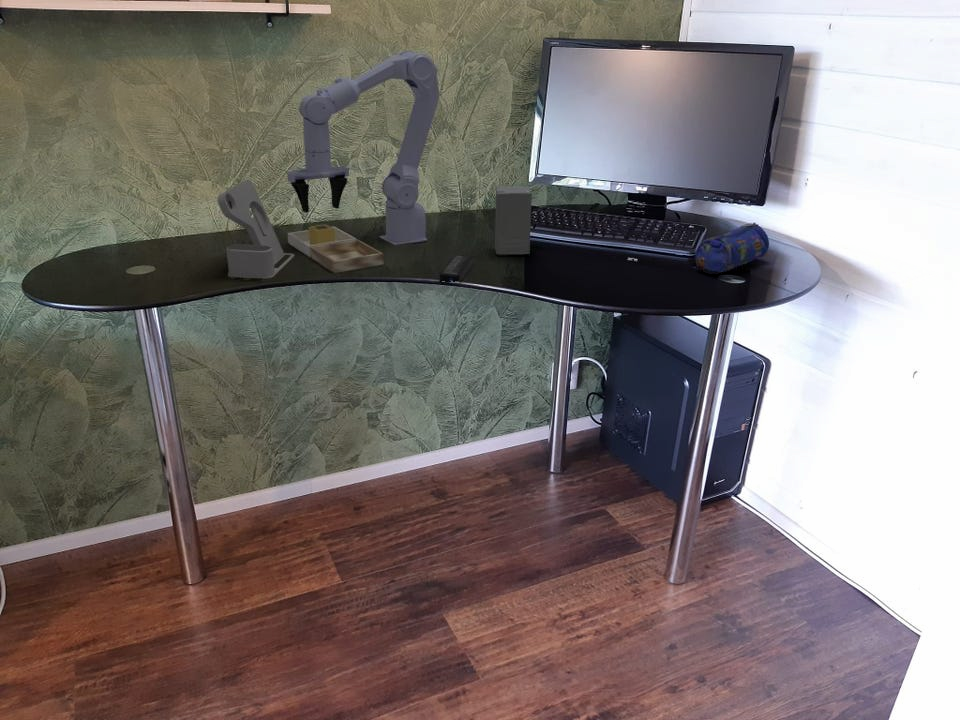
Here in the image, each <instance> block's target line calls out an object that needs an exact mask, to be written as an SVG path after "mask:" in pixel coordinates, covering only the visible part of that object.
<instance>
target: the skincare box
mask: <svg viewBox="0 0 960 720" xmlns="http://www.w3.org/2000/svg"><path fill="white" fill-rule="evenodd" d="M532 196H533V193H532V191H531V187H530V185H517V186H516V185H515V186H514V185H512V186H511V185H510V186H509V185H508V186H507V185H502V186H501V185H498V186H497V185H496V186H495V228H494V229H495V231H494V233H495V234H494V237H495V238H494V249H495V254H530V252H531V251H530V250H531V245H530V244H531V228H532V227H531V225H532V224H531V221H532V220H531V219H532ZM530 255H531V254H530Z"/></svg>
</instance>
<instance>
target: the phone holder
mask: <svg viewBox="0 0 960 720" xmlns="http://www.w3.org/2000/svg"><path fill="white" fill-rule="evenodd" d="M217 204H218V206H219V209H220V211H221V213H222V214H223V216H224V217H225V218H227V219H229V220H230V221H232V222H234V223H235V224H237V225H239V226H241V227H242V228H244V229H245V230H246V232H247V233H248V236H249V237H250V240H251V242H252V244H245V243H235V244H230V245H228V246H226V249H225V250H226V257H227V258H226V259H227V265H228V267H227V268H228V273H227V277H228V276H229V277H240V278H241V277H243V278H263V279H272V278H274V277H275V276H276V274H278V273H279V272H280V271H281V270H282V269H283V268H284V267H285V266H286V265H287V264H288V263H289V262H290V261H292V259H293V258H294V257H295V254H294V253H287V252H284V250H283V248H282V246H281V243H280V241H279V239H278V237H277V234H276V232H275V230H274V228H273V225H272V223H271V221H270V218H269V216H268V214H267V211H266V209H265V207H264V205H263V202H262V200H261V198H260V195H259V193H258V191H257V189H256V187H255V184H254V183H253V182H252V180H251V179H246V180H242V181H240V182H238V183H237V184H235V185H233V186H232V187H230V188H228V189H227V190H224V191H223V192H221V193H220V194H218V195H217ZM250 210H251V211H250ZM251 212H252V216H251ZM285 256H289V257H288V258H287V259H285V261H283V262H282V264H280V266H279V267H275V265H276V264H277V263H278V262H279V261H281V259H283V258H284V257H285ZM229 277H228V278H229Z"/></svg>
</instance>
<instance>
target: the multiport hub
mask: <svg viewBox="0 0 960 720" xmlns="http://www.w3.org/2000/svg"><path fill="white" fill-rule="evenodd" d="M473 261H474V256H473V255H466V254H454V255H453V256H452V257H451V259H450V260H449V261H448V262H447V263H446V265H445V266H444V267H443V269H442V270H441V272H440V273H439V283H443V284H447V283H446V282H451V281H450V280H453V282H455V281H460V280H461V279H462V277H463V276H464V275H465V273H466V272H467V271H468V269H469V268H470V267H471V268H472V266H473V265H472V264H473V263H474V262H473ZM471 265H472V266H471ZM471 268H470V269H471ZM470 269H469V270H470ZM468 272H469V271H468ZM468 272H467V273H468ZM467 273H466V274H467ZM465 276H466V275H465ZM465 276H464V277H465ZM462 280H463V279H462ZM442 281H445V282H442Z"/></svg>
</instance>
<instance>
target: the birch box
mask: <svg viewBox="0 0 960 720" xmlns="http://www.w3.org/2000/svg"><path fill="white" fill-rule="evenodd" d="M310 253H311V257H310V258H311V259H312V261H315V262H316V263H318V264H320V265H321V266H322V267H324V268H325V269H327V270H329V271H330V272H332V273H333V274H334V276H336V275H337V276H338V275H339V273H340V274H341V275H342V274H344V272H345V274H346V273H347V274H348V273H350V271H351V273H353V272H355V271H356V272H358V271H361V269H362V271H365V270H367V268H368V270H370V269H372V268H373V269H376V268H378V266H379V268H381V267H383V266H384V261H385V260H384V259H385V258H384V253H383V252H382V251H380V250H378V249H376V248H374V247H372V246H371V245H369V244H367V243H365V242H363V241H361V240H360V239H357V240H353V241H347V242H340V243H334V244H327V245H321V246H315V247H310ZM341 272H342V273H341Z"/></svg>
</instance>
